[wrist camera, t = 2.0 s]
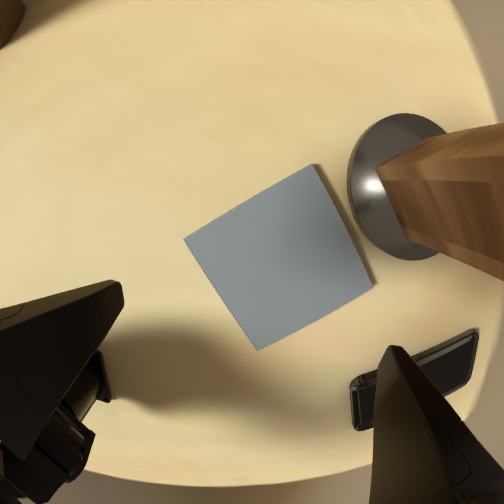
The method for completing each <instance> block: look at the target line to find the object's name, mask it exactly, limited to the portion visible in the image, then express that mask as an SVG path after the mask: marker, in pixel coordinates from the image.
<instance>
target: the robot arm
mask: <svg viewBox="0 0 504 504" xmlns="http://www.w3.org/2000/svg"><path fill="white" fill-rule="evenodd" d="M123 307H124V297H123V291H122V285H121V283H120V282H118V281H115V280H106V281H103V282H99V283H95V284H91V285H88V286H84V287H80V288H77V289H73V290H69V291H65V292H62V293H58V294H54V295H51V296H47V297H43V298H40V299H36V300H33V301H29V302H27V303H26V302H25V303H21V304H18V305H14V306H10V307H6V308H2V309H0V504H21V502H20V501H19V500H18V499H25V498H29V499H30V500H31V501H33V502H34V503H36V504H43V503H46V502H48V501H49V500H50V499H51V497H52V496H53V495H54V493H55V492H56V491H57V490H58V488H59V487H60V486H61V485H62V484H63V483H70V482H72V481H73V480H75V479H76V478H77V477H78V476H79V475H80V473H81V472H82V470H83V469H84V467H85V465H86V463H87V460H88V457H89V454H90V450H91V447H92V444H93V441H94V438H95V435H96V434H95V433H94V432H93V431H92V430H89V429H88V428H87V427H86V426H85V425H84V424H83V423H82V421H83V419H84V418H85V416H86V415H87V413H88V412H89V410H90V409H91V407H92V406H93V404H94V403H95V401H96V400H100V401H103V402H106V403H110V401H111V400H112V398H111V394H110V390H109V386H108V382H107V377H106V373H105V368H104V363H103V358H102V354H101V353H100V352H99V351H97V348H98V347H99V345H100V344H101V343H102V341H103V340H104V338H105V337H106V335H107V334H108V332H109V330H110V329H111V327H112V325H113V324H114V322H115V320H116V319H117V317H118V315H119V314H120V312H121V310H122V309H123ZM96 355H97V356H98V357H97V356H96ZM369 504H504V470H503V468H502V467H501V466H500V465H499V464H498V463H497V462H496V460H495V459H494V458H493V457H492V456H491V455H490V454H489V453H488V451H487V450H486V449H485V448H484V447H483V446H482V445H481V443H480V442H479V441H478V440H477V439H476V437H475V436H474V435H473V434H472V432H471V431H470V430H469V428H468V427H467V426H466V425H465V423H464V422H463V421H461V418H460V417H459V416H458V414H457V413H456V412H455V410H454V409H453V408H452V407H451V405H450V404H449V403H448V402H447V400H446V399H445V398H444V397H443V395H442V394H441V393H440V392H439V390H438V389H437V388H436V387H435V385H434V384H433V383H432V382H431V381H430V379H429V378H428V377H427V376H426V374H425V373H424V372H423V371H422V370H421V368H420V367H419V366H418V365H417V364H416V363H415V361H414V360H413V359H412V358H411V357H410V356H409V354H408V353H407V352H406V351H405V350H404V349H403V348H402V347H401V346H396V345H390V346H388V348H387V349H386V351H385V353H384V355H383V357H382V359H381V361H380V363H379V366H378V370H377V384H376V395H375V405H374V436H373V462H372V478H371V489H370V499H369Z"/></svg>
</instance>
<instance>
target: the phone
mask: <svg viewBox="0 0 504 504" xmlns="http://www.w3.org/2000/svg"><path fill="white" fill-rule="evenodd" d="M478 340H479V334H478V333H477V332H476V331H475V330H473V329H469V330H467V331H465V332H463V333H461V334H459V335H457V336H455V337H453V338H451V339H449V340H447V341H445V342H443V343H441V344H439V345H437V346H434V347H432V348H430V349H428V350H425V351H423V352H421V353H418V354H416V355H414V356H411V358H412V359H413V360H414V361H415V363H416V364H417V365H418V366H419V367H420V368H421V370H422V371H423V372H424V373H425V374H426V376H427V377H428V378H429V379H430V381H431V382H432V383H433V384H434V385H435V387H436V388H437V389H438V390H439V392H440V393H441V394H442V395H443V397H445V396H447V395H449V394H451V393H452V392H454V391H456V390H458V389H460V388H462V387H463V386H465V385H466V384H467V383H468V381H469V380H470V378H471V374H472V370H473V366H474V361H475V356H476V351H477V346H478ZM377 370H378V369H377ZM377 370H374V371H371V372H368V373H365V374H362V375H360V376H357V377H356V378H355V379H353V381H352V382H351V384H350V399H351V413H352V424H353V427H354V429H355V430H356V431H364V430H367V429H370V428H373V427H374V405H375V395H376V384H377Z"/></svg>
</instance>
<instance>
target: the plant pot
mask: <svg viewBox="0 0 504 504" xmlns="http://www.w3.org/2000/svg"><path fill="white" fill-rule="evenodd" d="M24 13H25V5H24V3H23V1H22V0H0V48H1V47H2V46H3V45H4V44H5V43H6V42H7V41H8V40H9V39H10V37H11V36H12V35H13V33H14V32H15V30H16V29H17V27H18V26H19V24H20V22H21V20H22V18H23V16H24Z"/></svg>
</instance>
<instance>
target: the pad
mask: <svg viewBox="0 0 504 504" xmlns="http://www.w3.org/2000/svg"><path fill="white" fill-rule="evenodd" d="M183 240H184V241H185V243H186V245H187V246H188V248H189V249H190V251H191V253H192V254H193V256H194V257H195V259H196V261H197V262H198V264H199V265H200V267H201V268H202V270H203V272H204V273H205V275H206V276H207V278H208V279H209V281H210V282H211V284H212V285H213V287H214V288H215V290H216V291H217V293H218V294H219V296H220V297H221V299H222V300H223V302H224V303H225V305H226V306H227V308H228V309H229V311H230V312H231V314H232V315H233V317H234V318H235V320H236V321H237V323H238V324H239V326H240V327H241V328H242V330H243V331H244V333H245V334H246V336H247V337H248V338H249V340H250V341H251V343H252V344H253V346H254V347H255V348H256V350H257V351H258V350H260V349H262V348H264V347H266V346H268V345H270V344H272V343H274V342H276V341H278V340H280V339H282V338H284V337H286V336H288V335H290V334H292V333H294V332H296V331H298V330H300V329H302V328H304V327H305V326H307V325H309V324H311V323H313V322H315V321H317V320H318V319H320V318H322V317H324V316H326V315H327V314H329V313H331V312H333V311H335V310H336V309H338V308H340V307H342V306H343V305H345V304H347V303H348V302H350V301H352V300H354V299H355V298H357V297H359V296H360V295H362V294H364V293H365V292H367V291H368V290H370V289H372V288H373V285H372V283H371V281H370V278H369V276H368V274H367V271H366V269H365V267H364V265H363V263H362V260H361V258H360V256H359V254H358V252H357V250H356V247H355V245H354V243H353V241H352V239H351V237H350V235H349V233H348V231H347V229H346V227H345V225H344V223H343V221H342V219H341V217H340V215H339V213H338V211H337V209H336V207H335V205H334V203H333V201H332V199H331V197H330V196H329V194H328V192H327V190H326V188H325V186H324V184H323V183H322V181H321V179H320V177H319V175H318V174H317V172H316V170H315V168H314V167H313V165H312V164H310V165H309V166H307V167H305V168H303V169H301V170H299V171H298V172H296V173H294V174H292V175H290V176H289V177H287V178H285V179H283V180H281V181H280V182H278V183H276V184H274V185H273V186H271V187H269V188H267V189H266V190H264V191H262V192H260V193H259V194H257V195H255V196H254V197H252V198H250V199H248V200H247V201H245V202H243V203H242V204H240V205H238V206H237V207H235V208H233V209H232V210H230V211H228V212H226V213H225V214H223V215H222V216H220V217H218V218H217V219H215V220H213V221H212V222H210V223H208V224H207V225H205V226H203V227H202V228H200V229H199V230H197V231H195V232H194V233H192V234H191V235H189V236H187V237H186V238H184V239H183Z"/></svg>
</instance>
